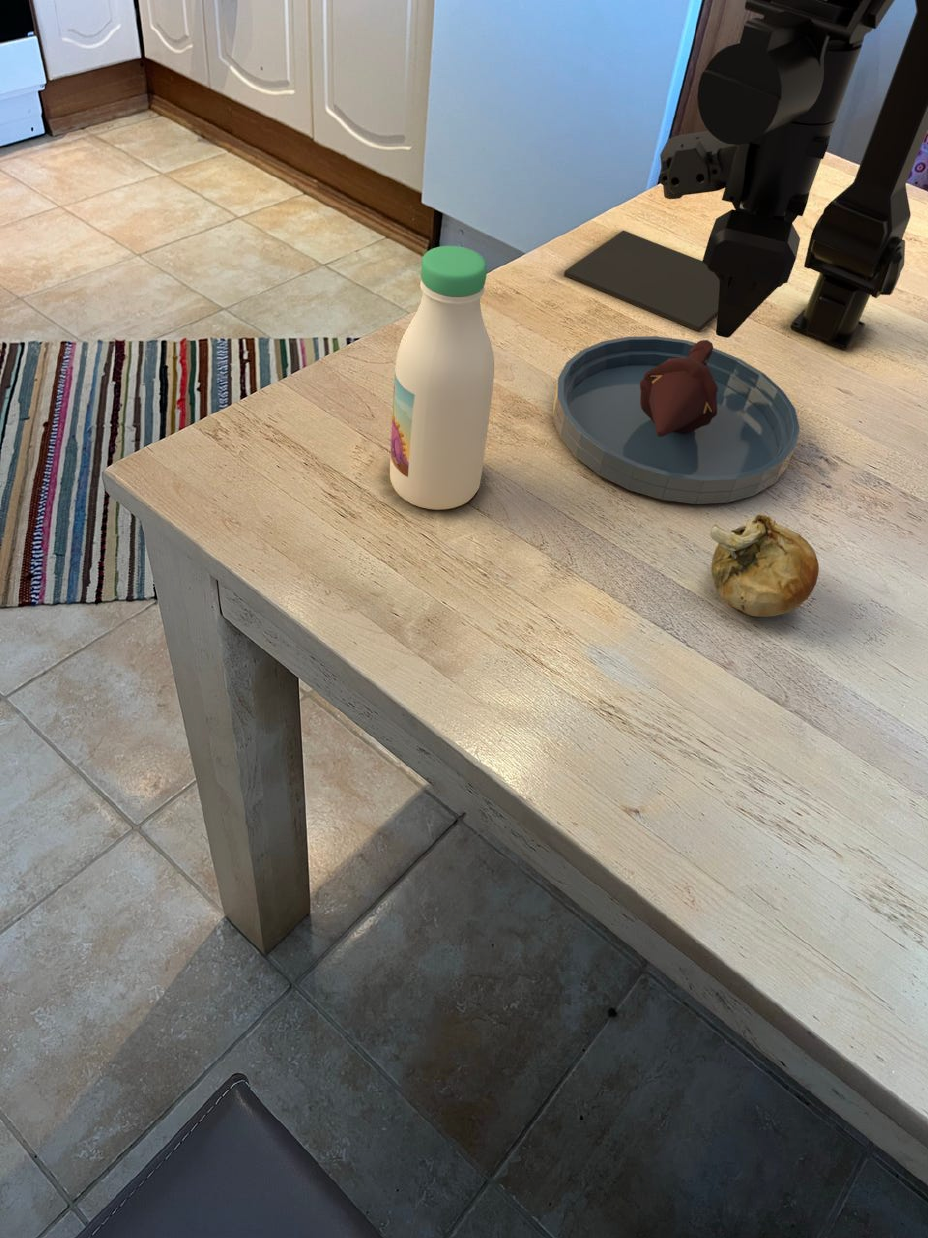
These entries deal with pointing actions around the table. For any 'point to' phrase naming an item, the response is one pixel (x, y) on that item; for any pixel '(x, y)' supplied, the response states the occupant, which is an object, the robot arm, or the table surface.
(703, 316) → the plate
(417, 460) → the milk bottle
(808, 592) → the onion
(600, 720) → the table surface
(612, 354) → the bowl
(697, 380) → the dark red teardrop piece
